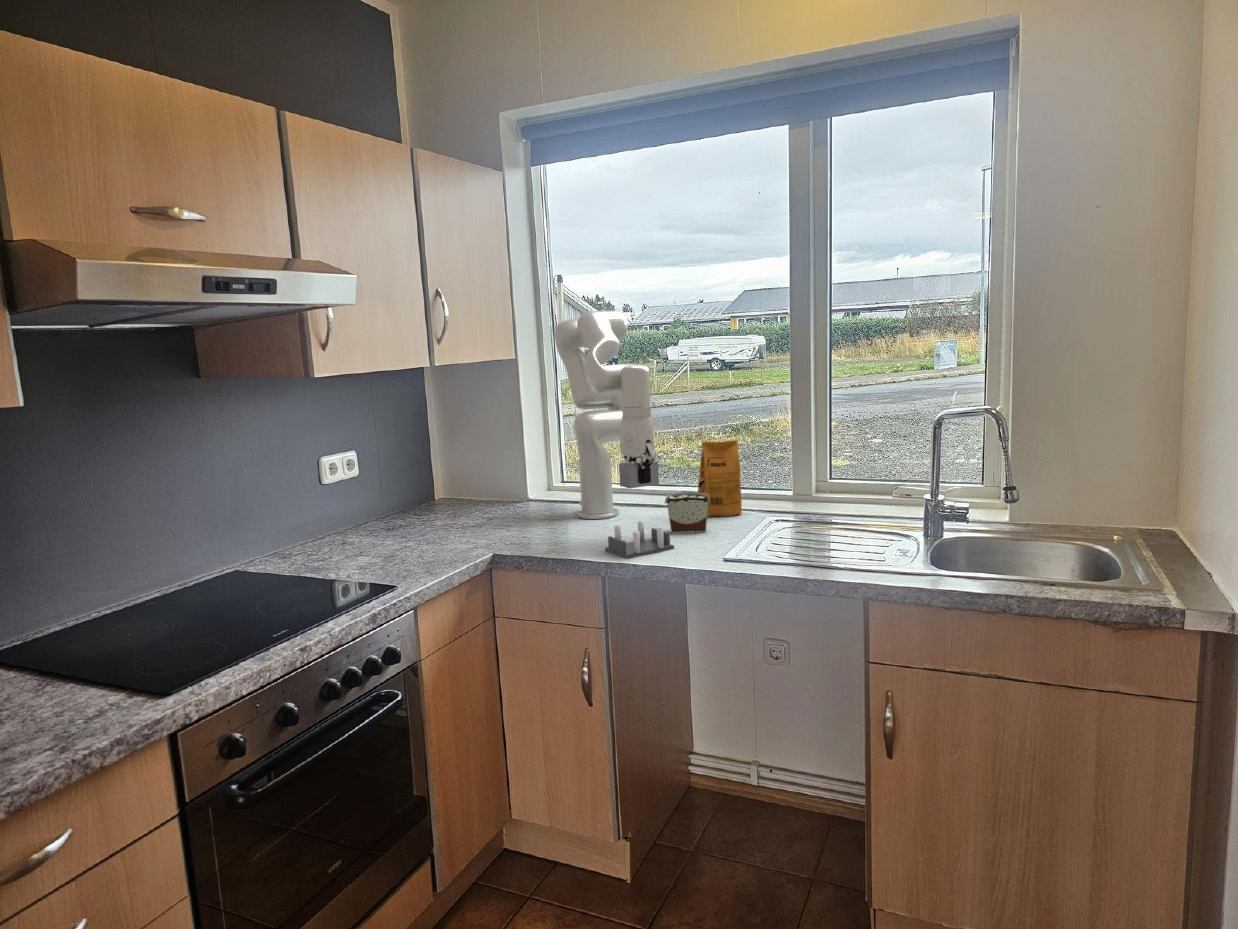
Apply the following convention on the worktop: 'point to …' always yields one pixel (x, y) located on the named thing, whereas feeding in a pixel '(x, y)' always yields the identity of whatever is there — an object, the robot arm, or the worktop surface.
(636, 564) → the worktop surface
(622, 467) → the block
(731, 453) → the coffee package
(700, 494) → the food container
